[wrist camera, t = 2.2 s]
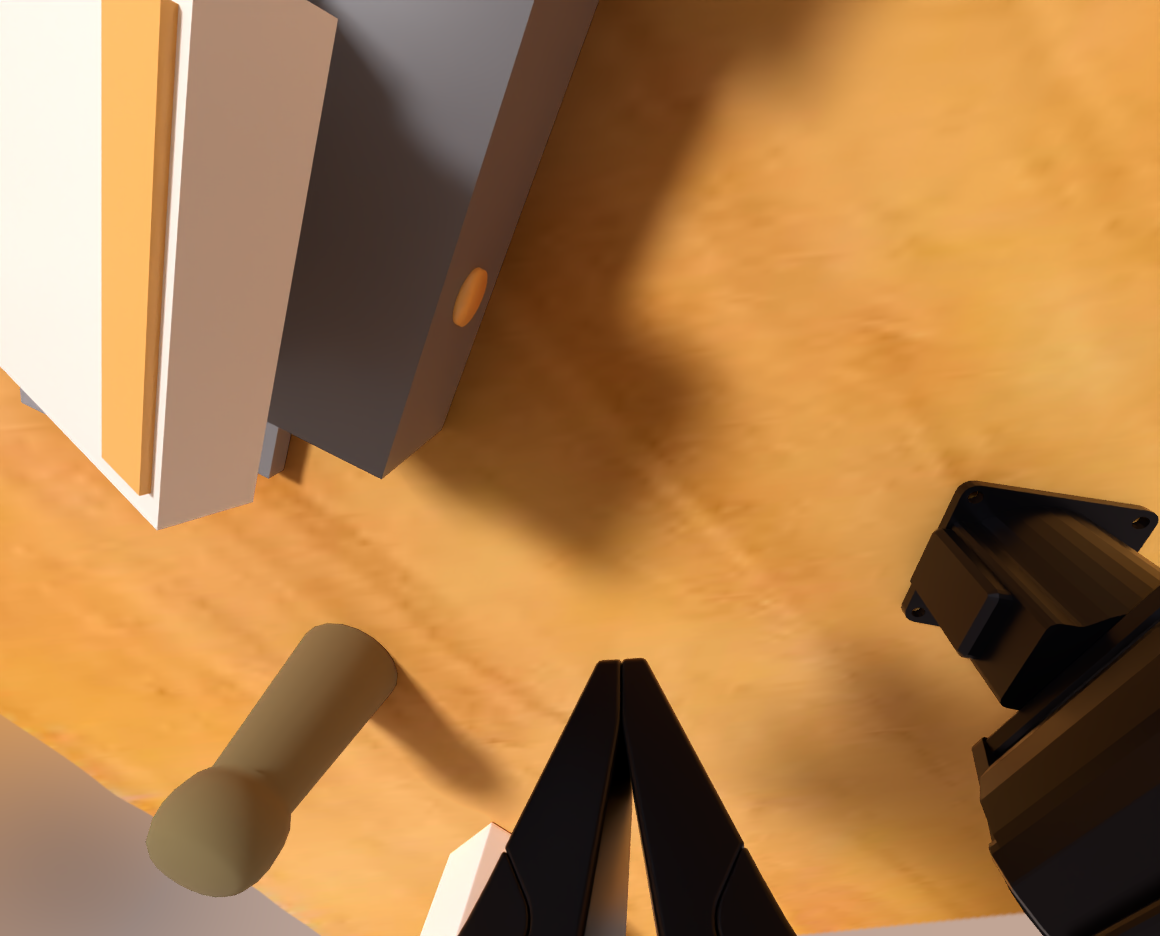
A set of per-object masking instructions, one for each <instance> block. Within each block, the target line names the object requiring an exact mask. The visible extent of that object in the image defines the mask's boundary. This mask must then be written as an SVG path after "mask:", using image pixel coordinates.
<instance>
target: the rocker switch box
mask: <svg viewBox="0 0 1160 936" xmlns="http://www.w3.org/2000/svg"><path fill="white" fill-rule="evenodd" d="M307 1H309V2H311V3H312V4H314V5H316V6H317V7H319V8H321V9H322V10H324V11H326V12H327V13H329V14H331V15H332V16H334V17H336V18H337V19H338V22H337V27H336V33H335V39H334V44H333V50H332V56H331V61H330V67H329V73H328V78H327V84H326V90H325V95H324V101H323V107H322V112H321V118H320V124H319V129H318V135H317V141H316V146H315V152H314V158H313V163H312V169H311V175H310V180H309V186H308V192H307V197H306V203H305V209H304V214H303V220H302V226H301V231H300V237H299V243H298V248H297V254H296V260H295V265H294V271H293V277H292V282H291V288H290V294H289V299H288V305H287V311H286V316H285V322H284V328H283V333H282V339H281V345H280V350H279V356H278V361H277V367H276V373H275V378H274V384H273V390H272V395H271V401H270V407H269V412H268V418H267V424H266V429H265V435H264V441H263V446H262V452H261V458H260V463H259V469H258V473H259V474H261V475H263V476H265V477H267V478H271V477H272V476H274V475H276V474H277V473H279V472H281V471H282V470H284V466H285V461H286V456H287V451H288V446H289V441H290V436H291V434H293V435H295V436H297V437H299V438H300V439H302V440H304V441H306V442H308V443H310V444H312V445H314V446H316V447H318V448H320V449H322V450H324V451H326V452H328V453H330V454H332V455H334V456H336V457H338V458H340V459H342V460H344V461H346V462H348V463H350V464H352V465H354V466H356V467H358V468H360V469H362V470H364V471H366V472H368V473H370V474H372V475H374V476H376V477H378V478H380V479H382V478H384V477H385V476H386V475H387V474H389V473H390V472H391V471H392V470H393V469H395V468H396V467H397V466H398V465H399V464H401V463H402V462H403V461H404V460H405V459H407V458H408V457H409V456H410V455H411V454H413V453H414V452H415V451H416V450H417V449H419V448H420V447H421V446H422V445H424V444H425V443H426V442H427V441H428V440H430V439H431V438H432V437H433V436H434V435H436V434H437V433H438V432H439V431H440V430H442V427H443V424H444V422H445V419H446V416H447V413H448V411H449V408H450V405H451V402H452V400H453V397H454V394H455V392H456V389H457V386H458V383H459V381H460V378H461V375H462V372H463V370H464V367H465V364H466V362H467V359H468V356H469V353H470V351H471V348H472V345H473V342H474V340H475V337H476V334H477V332H478V329H479V326H480V323H481V321H482V318H483V315H484V312H485V310H486V307H487V304H488V302H489V299H490V296H491V293H492V291H493V288H494V285H495V282H496V280H497V277H498V274H499V272H500V269H501V266H502V263H503V261H504V258H505V255H506V252H507V250H508V247H509V244H510V242H511V239H512V236H513V233H514V231H515V228H516V225H517V222H518V220H519V217H520V214H521V212H522V209H523V206H524V203H525V201H526V198H527V195H528V192H529V190H530V187H531V184H532V182H533V179H534V176H535V173H536V171H537V168H538V165H539V162H540V160H541V157H542V154H543V152H544V149H545V146H546V143H547V141H548V138H549V135H550V132H551V130H552V127H553V124H554V122H555V119H556V116H557V113H558V111H559V108H560V105H561V102H562V100H563V97H564V94H565V92H566V89H567V86H568V83H569V81H570V78H571V75H572V72H573V70H574V67H575V64H576V62H577V59H578V56H579V53H580V51H581V48H582V45H583V42H584V40H585V37H586V34H587V32H588V29H589V26H590V23H591V21H592V18H593V15H594V12H595V10H596V7H597V4H598V2H599V0H307ZM20 392H21V402H22V403H24V404H26V405H28V406H30V407H32V408H34V409H36V410H38V411H40V412H42V413H44V412H43V410H42V409H41V408H40V407H39V406H38V405H37V404H36V403H35V402H34V401H33V400H32V399H31V398H30V397H29V396H28V395H27V394H26V393H25V392H24V391H23V390H22V389H21V387H20ZM44 414H45V413H44Z"/></svg>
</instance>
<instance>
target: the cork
mask: <svg viewBox="0 0 1160 936" xmlns="http://www.w3.org/2000/svg"><path fill="white" fill-rule="evenodd" d="M396 682H397V671H396V668H395V665H394V662H393V660H392V658H391V657H390V655H389V654H388V653H387V651H386V650H385V648H384V647H382V646H381V645H380V644H379V643H378V642H377V641H376V640H375V639H373V638H372V637H370V636H369V635H367V634H365V633H363V632H362V631H360V630H358V629H355V628H352V627H349V626H346V625H343V624H323V625H319V626H315V627H314V628H312V629H311V630H310V631H309V632H307V633H306V634H305V636H304V637H303V638H302V640H301V641H300V643H299V644H298V646H297V647H296V648H295V650H294V651H293V653H292V654H291V656H290V657H289V658H288V660H287V661H286V663H285V664H284V666H283V667H282V668H281V670H280V671H279V673H278V674H277V675H276V677H275V678H274V680H273V681H272V683H271V684H270V685H269V687H268V688H267V690H266V691H265V693H264V694H263V695H262V697H261V698H260V700H259V701H258V702H257V704H256V705H255V707H254V708H253V710H252V711H251V712H250V714H249V715H248V717H247V718H246V720H245V721H244V722H243V724H242V725H241V727H240V728H239V730H238V731H237V732H236V734H235V735H234V737H233V738H232V739H231V741H230V742H229V744H228V745H227V747H226V748H225V749H224V751H223V752H222V754H221V755H220V757H219V758H218V759H217V761H216V762H215V764H214V765H213V767H210V768H208V769H205V770H202V771H200V772H198V773H196V774H195V775H193V776H192V777H191V778H189V779H188V780H187V781H185V782H184V783H183V784H181V785H180V786H179V787H177V788H176V789H175V790H174V791H173V792H172V793H171V794H170V795H169V796H168V797H167V799H166V800H165V801H164V802H163V803H162V804H161V806H160V807H159V809H158V811H157V812H156V814H155V816H154V817H153V819H152V822H151V826H150V829H149V832H148V836H147V839H146V845H147V849H148V853H149V855H150V859H151V860H152V862H153V863H154V864H155V866H156V867H157V868H158V869H159V870H160V871H161V872H162V873H163V874H164V875H166V876H167V877H168V878H170V879H172V880H173V881H174V882H176V883H177V884H179V885H181V886H183V887H185V888H187V889H189V890H191V891H194V892H197V893H199V894H202V895H206V896H212V897H227V896H233V895H237V894H239V893H241V892H243V891H244V890H246V889H248V888H249V887H251V886H252V885H254V884H255V883H257V882H258V881H259V880H260V879H261V878H262V876H263V875H264V874H265V873H266V872H267V871H268V870H269V869H270V867H271V866H272V864H273V863H274V861H275V859H276V858H277V856H278V855H279V853H280V851H281V850H282V848H283V846H284V844H285V841H286V839H287V836H288V834H289V831H290V821H291V813H292V812H293V811H294V809H295V808H296V807H297V806H298V805H299V803H300V802H301V801H302V800H303V799H304V797H305V796H306V795H307V794H308V793H309V791H310V790H311V789H312V788H313V786H314V785H315V784H316V783H317V782H318V780H319V779H320V778H321V777H322V776H323V774H324V773H325V772H326V771H327V770H328V768H329V767H330V766H331V765H332V764H333V762H334V761H335V760H336V759H337V758H338V756H339V755H340V754H341V753H342V752H343V750H344V749H345V748H346V747H347V745H348V744H349V743H350V742H351V741H352V739H353V738H354V737H355V736H356V735H357V733H358V732H359V731H360V730H361V729H362V727H363V726H364V725H365V724H366V723H367V721H368V720H369V719H370V718H371V717H372V715H373V714H374V713H375V712H376V711H377V709H378V708H379V707H380V706H381V704H382V703H383V702H384V701H385V700H386V698H387V697H388V696H389V695H390V694H391V692H392V691H393V689H394V687H395V686H396Z"/></svg>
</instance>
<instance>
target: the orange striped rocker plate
mask: <svg viewBox="0 0 1160 936" xmlns="http://www.w3.org/2000/svg"><path fill="white" fill-rule="evenodd" d="M337 22H338V19H337V18H336V17H334V16H332V15H331V14H329V13H327V12H326V11H324V10H322V9H321V8H319V7H317V6H316V5H314V4H312V3H311V2H309V1H307V0H0V367H1V368H2V369H3V370H4V371H5V372H6V373H7V374H8V375H9V376H10V377H11V378H12V379H13V380H14V381H15V382H16V383H17V384H18V385H19V386H20V387H21V389H22V390H23V391H24V392H25V393H26V394H27V395H28V396H29V397H30V398H31V399H32V400H33V401H34V402H35V403H36V404H37V405H38V406H39V407H40V408H41V409H42V410H43V412H44V413H45V414H46V415H47V416H48V417H49V418H50V419H51V420H52V421H53V422H54V423H55V424H56V425H57V426H58V427H59V428H60V429H61V430H62V431H63V432H64V433H65V435H66V436H67V437H68V438H69V439H70V440H71V441H72V442H73V443H74V444H75V445H76V446H77V447H78V448H79V449H80V450H81V451H82V452H83V453H84V454H85V455H86V456H87V458H88V459H89V460H90V461H91V462H92V463H93V464H94V465H95V466H96V467H97V468H98V469H99V470H100V471H101V472H102V473H103V474H104V475H105V476H106V477H107V478H108V479H109V481H110V482H111V483H112V484H113V485H114V486H115V487H116V488H117V489H118V490H119V491H120V492H121V493H122V494H123V495H124V496H125V497H126V498H127V499H128V500H129V501H130V502H131V504H132V505H133V506H134V507H135V508H136V509H137V510H138V511H139V512H140V513H141V514H142V515H143V516H144V517H145V518H146V519H147V520H148V521H149V522H150V523H151V524H152V525H153V527H154V528H155V529H156V530H160V529H164V528H167V527H170V526H174V525H177V524H180V523H184V522H187V521H190V520H194V519H197V518H201V517H204V516H207V515H211V514H214V513H217V512H221V511H224V510H227V509H231V508H234V507H237V506H241V505H244V504H247V503H251V502H253V497H254V492H255V486H256V480H257V475H258V469H259V463H260V458H261V452H262V446H263V441H264V435H265V429H266V424H267V418H268V412H269V407H270V401H271V395H272V390H273V384H274V378H275V373H276V367H277V361H278V356H279V350H280V345H281V339H282V333H283V328H284V322H285V316H286V311H287V305H288V299H289V294H290V288H291V282H292V277H293V271H294V265H295V260H296V254H297V248H298V243H299V237H300V231H301V226H302V220H303V214H304V209H305V203H306V197H307V192H308V186H309V180H310V175H311V169H312V163H313V158H314V152H315V146H316V141H317V135H318V129H319V124H320V118H321V112H322V107H323V101H324V95H325V90H326V84H327V78H328V73H329V67H330V61H331V56H332V50H333V44H334V39H335V33H336V27H337Z"/></svg>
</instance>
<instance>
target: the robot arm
mask: <svg viewBox="0 0 1160 936" xmlns="http://www.w3.org/2000/svg"><path fill="white" fill-rule="evenodd" d="M977 491H978V494H977V495H976V496H975V497H973V498H968V496H969V495H970V494H971V493H973V492H977ZM1137 518H1140V519H1139V520H1138V521H1137V522H1134V523H1133V521H1134V520H1135V519H1137ZM1157 523H1158V516H1157V515H1156V514H1155V513H1154V512H1152V511H1150V510H1149V509H1147V508H1145V507H1142V506H1139V505H1132V504H1126V503H1119V502H1112V501H1106V500H1099V499H1093V498H1086V497H1079V496H1073V495H1066V494H1060V493H1053V492H1046V491H1040V490H1033V489H1027V488H1020V487H1013V486H1007V485H1000V484H994V483H987V482H980V481H968V482H965V483H963V484H962V485H960V486H959V487H958V488H957V490H956V492H955V494H954V496H953V498H952V500H951V502H950V504H949V506H948V508H947V510H946V512H945V515H944V517H943V519H942V521H941V523H940V525H939V527H938V529H937V530H936V531H934V532H933V533H932V536H931V538H930V540H929V542H928V544H927V546H926V548H925V550H924V552H923V555H922V557H921V559H920V561H919V563H918V565H917V567H916V569H915V571H914V574H913V576H912V578H911V580H910V582H911V586H910V588H909V590H908V592H907V594H906V596H905V599H904V601H903V603H902V606H901V608H902V611H903V613H904V614H905V616H906V617H907V618H908V619H909V620H911V621H914V622H919V623H924V624H930V625H935V626H940V627H941V629H942V630H943V632H944V633H945V635H946V636H947V638H948V639H949V641H950V642H951V644H952V645H953V647H954V648H955V650H956V651H957V653H958V654H959V655H960V656H961V657H963V658H969V659H970V660H971V661H972V663H973V664H974V666H975V667H976V669H977V670H978V671H979V673H980V674H981V676H982V677H983V679H984V680H985V682H986V683H987V685H988V686H989V687H990V689H991V690H992V692H993V693H994V695H995V696H996V698H997V699H998V701H999V702H1000V703H1001V705H1002V706H1004V707H1006V708H1010V709H1015V710H1019V711H1018V712H1017V713H1016V714H1015V715H1013V716H1012V717H1011V718H1010V719H1009V720H1008V721H1007V722H1006V723H1004V724H1003V725H1002V726H1001V727H1000V728H999V729H998V730H997V731H995V732H994V733H993V734H992V735H991V736H990V737H989V738H986V737H983V738H982V739H981V740H979V741H978V742H977V743H976V744H975V745H974V746H973V747H972V752H973V757H974V761H975V766H976V770H977V775H978V780H979V784H980V802H981V805H982V807H983V810H984V813H985V815H986V818H987V821H988V825H989V830H990V835H991V839H992V842H991V843H990V844H989V850H990V853H991V856H992V859H993V862H994V863H995V865H996V866H997V868H998V870H999V871H1000V873H1001V874H1002V876H1003V878H1004V880H1005V882H1006V884H1007V885H1008V888H1009V889H1010V891H1011V893H1012V894H1013V896H1014V897H1015V899H1016V900H1017V902H1018V903H1019V905H1020V906H1021V908H1022V909H1023V911H1024V912H1025V914H1026V915H1027V916H1028V917H1029V919H1030V920H1031V921H1032V922H1033V923H1034V925H1035V926H1036V927H1037V929H1038V930H1039V931H1040V932H1041V934H1042V935H1043V936H1160V568H1159V567H1158V566H1156V565H1155V564H1154V563H1152V562H1151V561H1149V560H1148V559H1146V558H1145V557H1143V556H1142V555H1141V554H1139V553H1138V551H1139V550H1140V548H1141V547H1142V546H1143V544H1144V543H1145V541H1146V540H1147V538H1148V537H1149V536H1150V534H1151V533H1152V531H1153V530H1154V528H1155V527H1156V525H1157ZM915 608H920V609H919V610H916V611H912V610H913V609H915ZM632 790H633V797H634V803H635V809H636V815H637V821H638V827H639V833H640V839H641V845H642V851H643V856H644V862H645V868H646V874H647V880H648V886H649V892H650V898H651V904H652V910H653V916H654V921H655V927H656V933H657V936H797V935H796V934H795V932H794V930H793V929H792V927H791V926H790V924H789V923H788V921H787V919H786V918H785V916H784V914H783V912H782V911H781V909H780V907H779V905H778V904H777V902H776V900H775V898H774V897H773V895H772V893H771V891H770V889H769V888H768V886H767V884H766V882H765V881H764V879H763V877H762V875H761V873H760V872H759V870H758V868H757V866H756V864H755V862H754V860H753V859H752V857H751V855H750V853H749V851H748V849H747V848H744V842H743V840H742V839H741V837H740V835H739V833H738V831H737V829H736V827H735V825H734V824H733V822H732V820H731V818H730V816H729V814H728V812H727V810H726V809H725V807H724V805H723V803H722V801H721V799H720V797H719V795H718V794H717V792H716V790H715V788H714V786H713V784H712V782H711V780H710V779H709V777H708V775H707V773H706V771H705V769H704V767H703V765H702V764H701V762H700V760H699V758H698V756H697V754H696V752H695V750H694V749H693V747H692V745H691V743H690V741H689V739H688V737H687V735H686V734H685V732H684V730H683V728H682V726H681V724H680V722H679V720H678V719H677V717H676V715H675V713H674V711H673V709H672V707H671V706H670V704H669V702H668V700H667V698H666V696H665V694H664V692H663V691H662V689H661V687H660V685H659V683H658V681H657V679H656V677H655V676H654V674H653V672H652V670H651V668H650V666H649V664H648V662H647V661H646V660H645V659H644V658H633V659H624V660H623V662H621V661H620V660H617V659H616V660H602V661H599V662H598V663H597V664H596V666H595V668H594V670H593V672H592V674H591V676H590V678H589V680H588V682H587V684H586V686H585V688H584V690H583V692H582V694H581V696H580V698H579V700H578V702H577V704H576V706H575V708H574V710H573V712H572V714H571V716H570V718H569V720H568V722H567V724H566V726H565V728H564V730H563V732H562V734H561V736H560V738H559V740H558V742H557V744H556V746H555V748H554V750H553V752H552V754H551V756H550V758H549V760H548V762H547V764H546V766H545V768H544V770H543V772H542V774H541V776H540V778H539V780H538V782H537V784H536V786H535V788H534V790H533V792H532V794H531V796H530V798H529V800H528V802H527V804H526V806H525V808H524V810H523V812H522V814H521V816H520V818H519V820H518V822H517V824H516V826H515V828H514V830H513V832H512V834H511V836H510V838H509V840H508V842H507V844H506V846H505V850H506V852H507V853H506V852H502V854H501V855H500V857H499V859H498V861H497V863H496V865H495V867H494V869H493V871H492V873H491V875H490V877H489V879H488V881H487V883H486V885H485V887H484V889H483V891H482V893H481V894H480V896H479V898H478V900H477V902H476V904H475V906H474V908H473V909H472V911H471V913H470V915H469V917H468V919H467V921H466V922H465V924H464V926H463V927H462V929H461V931H460V932H459V934H458V936H626V918H627V899H628V879H629V860H630V840H631V820H632Z"/></svg>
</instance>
